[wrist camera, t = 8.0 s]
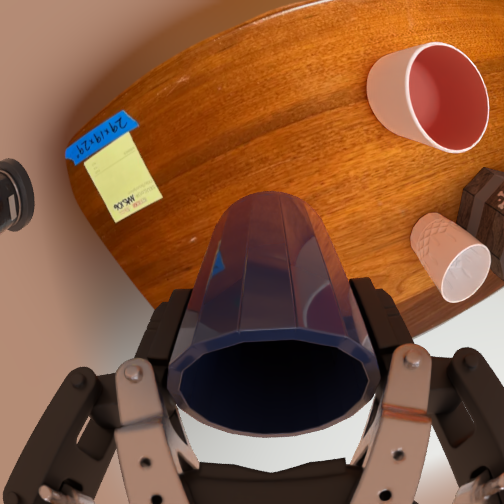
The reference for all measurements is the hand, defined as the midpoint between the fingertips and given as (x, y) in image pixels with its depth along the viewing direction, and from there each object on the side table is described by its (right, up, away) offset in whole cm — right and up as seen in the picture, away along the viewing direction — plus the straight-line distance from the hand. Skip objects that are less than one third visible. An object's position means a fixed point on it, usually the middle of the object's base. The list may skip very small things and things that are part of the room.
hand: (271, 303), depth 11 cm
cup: (+16, +20, +13) cm, 29 cm away
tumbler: (0, +2, +4) cm, 5 cm away
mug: (+37, +10, +19) cm, 43 cm away
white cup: (+24, +4, +22) cm, 32 cm away
